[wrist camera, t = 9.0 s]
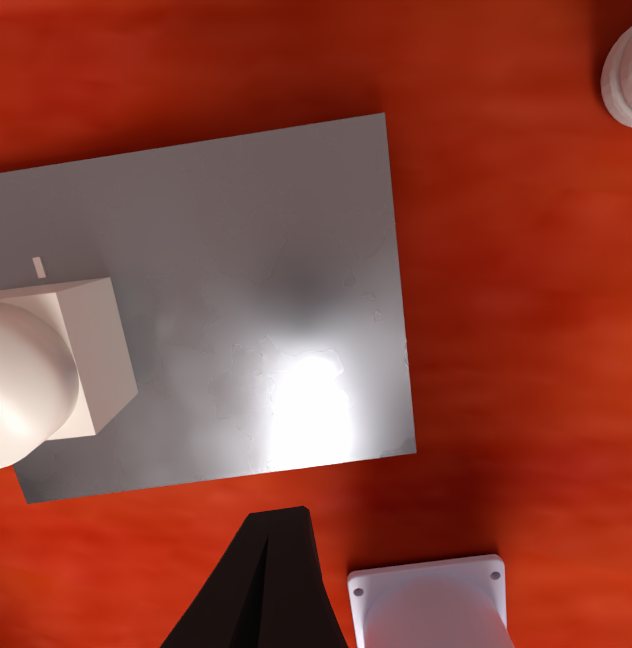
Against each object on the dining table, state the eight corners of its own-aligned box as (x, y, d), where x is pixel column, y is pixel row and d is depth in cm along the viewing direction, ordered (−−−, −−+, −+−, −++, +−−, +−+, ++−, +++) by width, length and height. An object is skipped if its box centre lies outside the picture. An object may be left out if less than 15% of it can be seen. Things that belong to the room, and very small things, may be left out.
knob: (110, 277, 16) (12, 304, 11) (138, 392, 17) (62, 467, 12) (-13, 291, 16) (-168, 326, 11) (24, 405, 17) (-100, 485, 12)
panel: (410, 438, 19) (437, 501, 15) (44, 487, 20) (-30, 560, 16) (379, 120, 16) (403, 83, 12) (-64, 189, 16) (-197, 179, 12)
